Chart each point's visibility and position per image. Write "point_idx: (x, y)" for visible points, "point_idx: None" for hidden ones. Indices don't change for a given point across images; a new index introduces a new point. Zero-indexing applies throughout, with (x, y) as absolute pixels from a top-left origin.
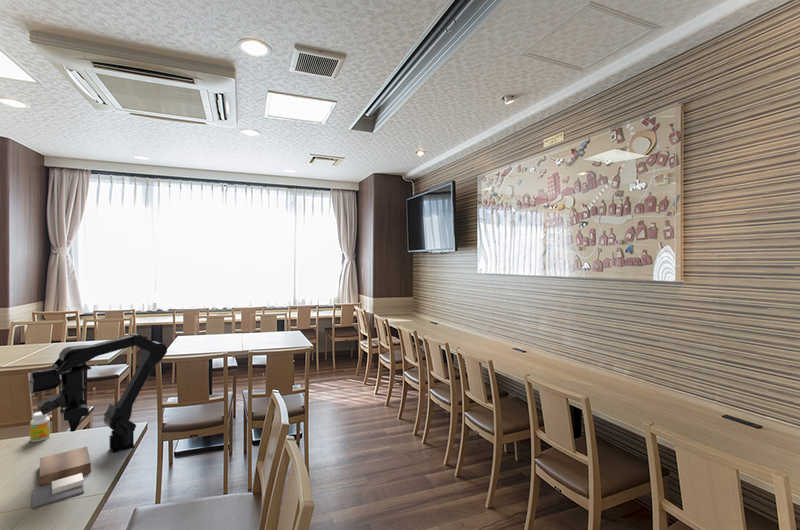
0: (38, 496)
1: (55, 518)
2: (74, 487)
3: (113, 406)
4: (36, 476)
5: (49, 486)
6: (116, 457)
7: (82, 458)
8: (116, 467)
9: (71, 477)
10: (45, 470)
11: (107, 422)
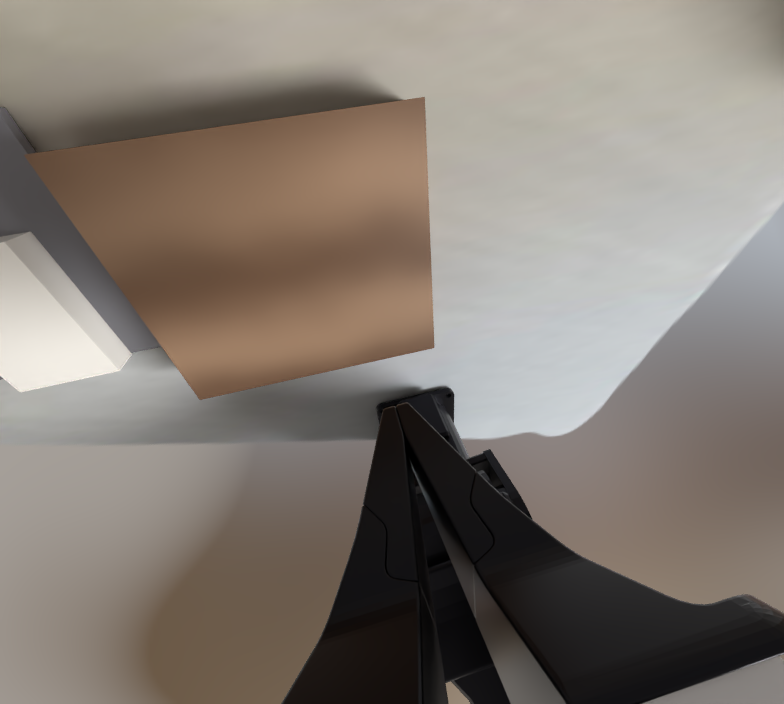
0: None
1: None
2: None
3: (485, 667)
4: (258, 99)
5: (30, 219)
6: (325, 420)
7: (275, 357)
8: (224, 435)
9: (60, 337)
10: (148, 181)
11: (436, 527)
